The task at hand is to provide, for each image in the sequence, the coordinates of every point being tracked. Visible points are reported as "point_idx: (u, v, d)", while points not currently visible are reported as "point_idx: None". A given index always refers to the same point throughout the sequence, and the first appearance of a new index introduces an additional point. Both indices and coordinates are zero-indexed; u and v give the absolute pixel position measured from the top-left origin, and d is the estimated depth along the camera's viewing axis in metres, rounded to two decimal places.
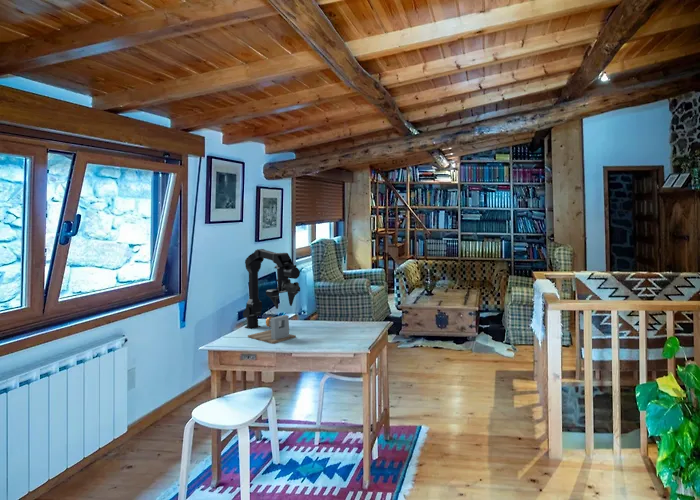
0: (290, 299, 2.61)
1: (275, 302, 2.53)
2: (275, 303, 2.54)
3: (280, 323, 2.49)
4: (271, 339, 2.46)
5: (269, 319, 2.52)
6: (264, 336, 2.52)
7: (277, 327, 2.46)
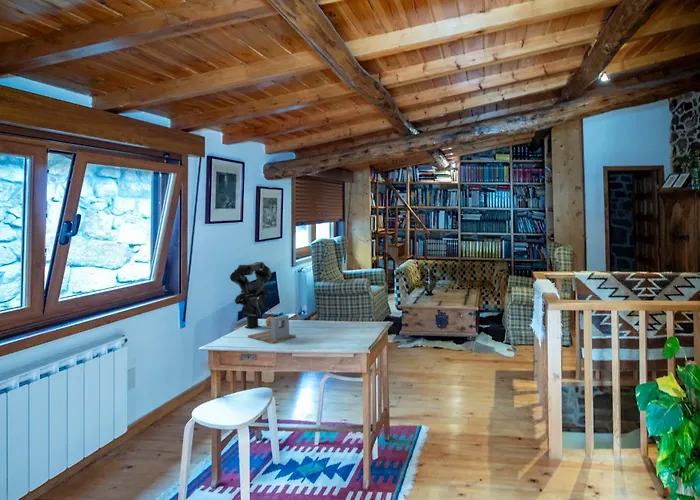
0: (261, 303, 2.64)
1: (249, 304, 2.58)
2: (249, 305, 2.57)
3: (280, 323, 2.49)
4: (271, 339, 2.46)
5: (269, 319, 2.52)
6: (264, 336, 2.52)
7: (277, 327, 2.46)
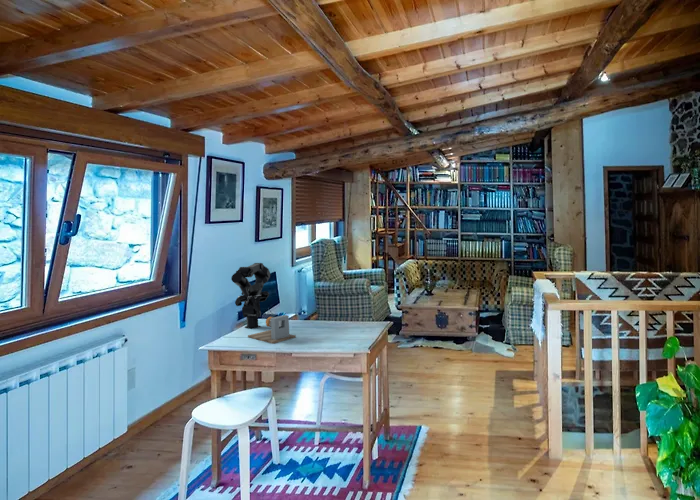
0: None
1: (254, 305, 2.60)
2: (255, 306, 2.60)
3: (280, 323, 2.49)
4: (271, 339, 2.46)
5: (269, 319, 2.52)
6: (264, 336, 2.52)
7: (277, 327, 2.46)
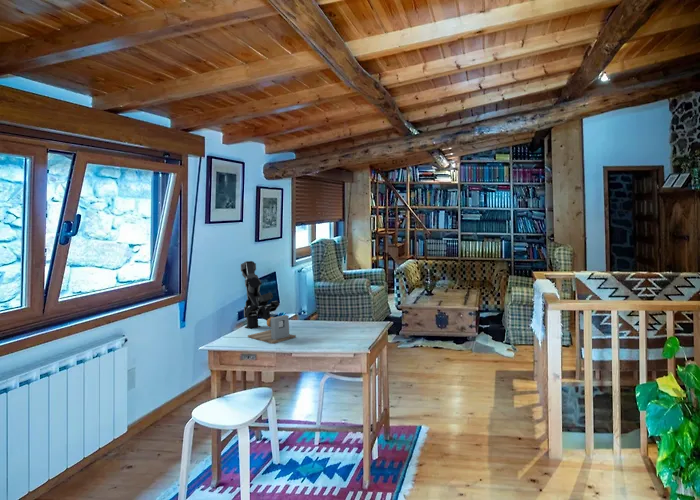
0: None
1: (265, 316, 2.54)
2: (265, 317, 2.54)
3: (281, 323, 2.49)
4: (271, 339, 2.46)
5: (270, 319, 2.52)
6: (264, 336, 2.52)
7: (277, 327, 2.46)
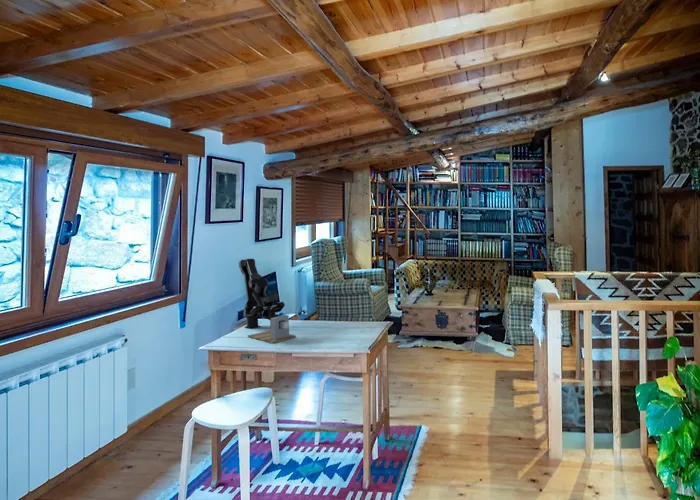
0: (272, 317, 2.53)
1: (270, 317, 2.51)
2: (270, 318, 2.51)
3: (287, 324, 2.46)
4: (271, 339, 2.46)
5: None
6: (264, 336, 2.52)
7: (277, 327, 2.46)
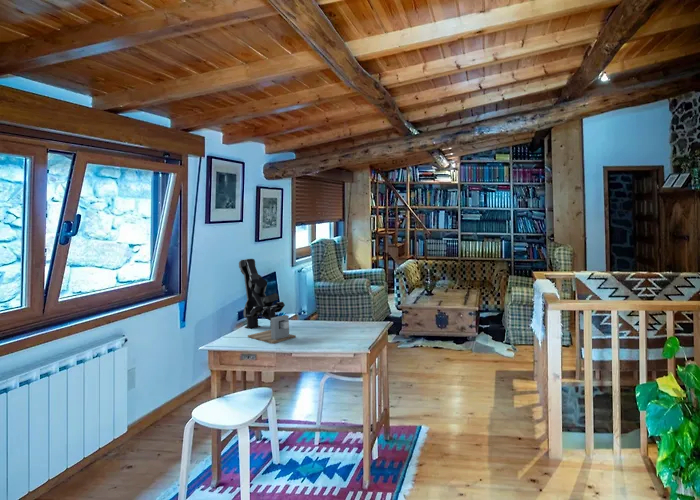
0: (272, 317, 2.53)
1: (270, 317, 2.51)
2: (270, 318, 2.51)
3: (287, 324, 2.46)
4: (271, 339, 2.46)
5: None
6: (264, 336, 2.52)
7: (277, 327, 2.46)
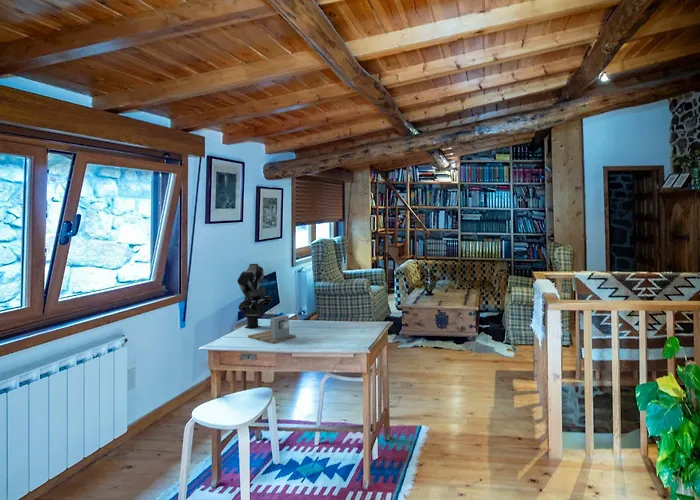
0: None
1: (258, 310, 2.58)
2: (258, 311, 2.58)
3: (287, 324, 2.46)
4: (271, 339, 2.46)
5: None
6: (264, 336, 2.52)
7: (277, 327, 2.46)
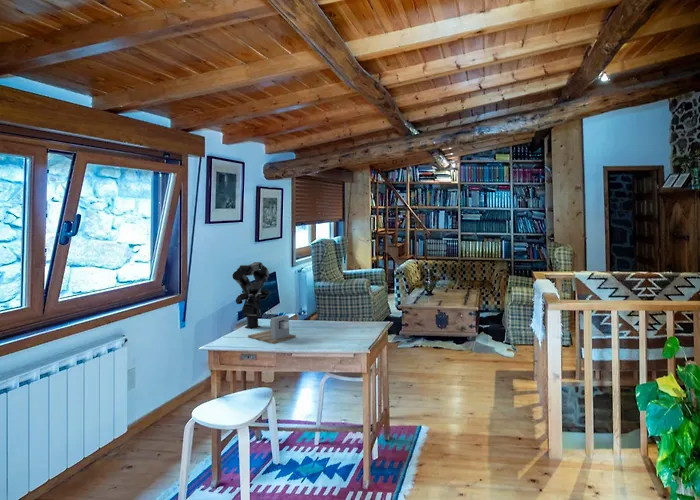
0: None
1: (255, 304, 2.59)
2: (255, 305, 2.59)
3: (287, 324, 2.46)
4: (271, 339, 2.46)
5: None
6: (264, 336, 2.52)
7: (277, 327, 2.46)
